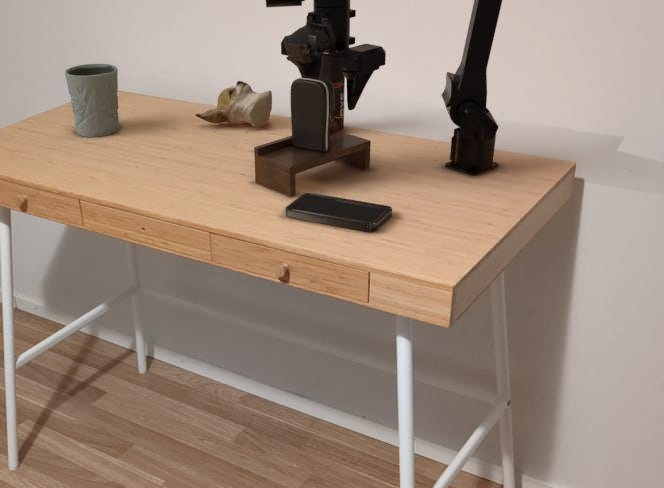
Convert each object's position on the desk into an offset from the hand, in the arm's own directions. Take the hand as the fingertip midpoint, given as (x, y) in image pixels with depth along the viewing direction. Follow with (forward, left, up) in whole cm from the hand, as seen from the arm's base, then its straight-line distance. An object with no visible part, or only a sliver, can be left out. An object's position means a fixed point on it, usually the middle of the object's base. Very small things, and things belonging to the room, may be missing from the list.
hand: (331, 104), depth 148 cm
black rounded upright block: (0, +4, -7) cm, 8 cm away
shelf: (0, +4, -11) cm, 12 cm away
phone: (-15, +13, -11) cm, 23 cm away
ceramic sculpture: (+32, -5, -12) cm, 35 cm away
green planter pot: (+50, +17, -12) cm, 54 cm away
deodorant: (+16, -14, -12) cm, 25 cm away
